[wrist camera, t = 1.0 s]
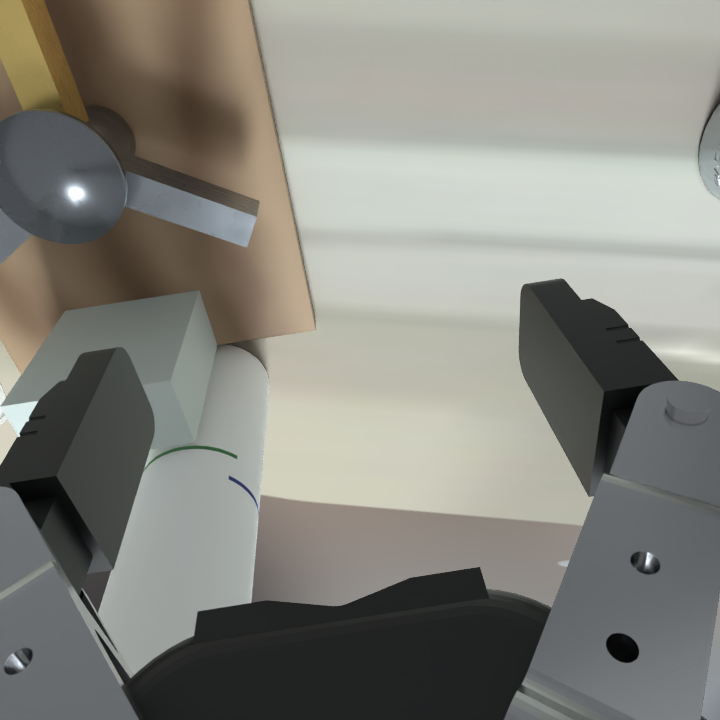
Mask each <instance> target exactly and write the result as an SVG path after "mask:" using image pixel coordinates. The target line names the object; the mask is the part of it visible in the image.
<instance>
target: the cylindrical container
mask: <svg viewBox="0 0 720 720" xmlns="http://www.w3.org/2000/svg"><path fill="white" fill-rule="evenodd" d="M268 396H269V377H268V374H267V371H266V370H265V368H264V366H263V365H262V363H261V362H260V361H259V360H258V359H257V358H256V357H255V356H253V355H252V354H251V353H249V352H247V351H245V350H243V349H241V348H238V347H235V346H232V345H225V344H222V345H217V349H216V353H215V358H214V362H213V366H212V371H211V375H210V380H209V384H208V388H207V393H206V397H205V402H204V406H203V411H202V415H201V419H200V424H199V428H198V433H197V437H196V441H195V443H189V444H182V445H176V446H169V447H163V448H156V449H150V451H149V454H148V457H147V461H146V464H145V467H144V471H143V474H142V477H141V481H140V484H139V487H138V491H137V494H136V497H135V500H134V504H133V507H132V510H131V514H130V517H129V520H128V524H127V527H126V530H125V534H124V537H123V540H122V543H121V547H120V550H119V553H118V557H117V560H116V563H115V567H114V570H112V571H111V574H110V577H109V580H108V584H107V587H106V590H105V593H104V596H103V599H102V602H101V606H100V609H99V612H98V615H99V617H100V618H101V620H102V622H103V623H104V625H105V627H106V629H107V630H108V632H109V634H110V636H111V637H112V639H113V641H114V642H115V644H116V646H117V648H118V649H119V651H120V653H121V654H122V656H123V658H124V660H125V661H126V663H127V665H128V666H129V668H130V670H131V671H132V673H133V674H134V675H135V674H136V673H137V672H138V671H139V670H140V669H141V668H143V667H144V666H145V665H146V664H148V663H149V662H150V661H151V660H153V659H154V658H155V657H157V656H158V655H160V654H161V653H163V652H164V651H166V650H167V649H169V648H170V647H172V646H174V645H176V644H178V643H180V642H182V641H183V640H185V639H187V638H190V637H192V636H194V632H195V626H196V619H197V613H198V611H203V610H209V609H216V608H222V607H229V606H235V605H241V604H248V603H251V598H252V586H253V575H254V564H255V552H256V540H257V528H258V515H259V504H260V492H261V479H262V467H263V454H264V442H265V431H266V419H267V408H268Z"/></svg>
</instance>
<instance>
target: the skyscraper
mask: <svg viewBox="0 0 720 720" xmlns="http://www.w3.org/2000/svg"><path fill="white" fill-rule="evenodd" d="M5 398H6V396H5V393H4V391H3V389H2V386H1V384H0V406H1V404H2V403H3V401H4V400H5ZM6 419H7V417H6V416H5V414H4V412H3V411H2V409H1V408H0V425H1V424H2V423H3V422H4V421H5V420H6Z"/></svg>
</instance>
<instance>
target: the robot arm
mask: <svg viewBox="0 0 720 720" xmlns="http://www.w3.org/2000/svg"><path fill="white" fill-rule="evenodd" d="M699 167H700V175H701V177H702V179H703V182H704V184H705V186H706V187H707V189H708V190H709V191H710V192H711V194H712V195H714V196H715V197H717V198H718V199H720V104H719V105H718V107H717V108H716V109H715V111H714V112H713V114H712V116H711V118H710V120H709V122H708V124H707V126H706V128H705V131H704V134H703V138H702V141H701V144H700V152H699ZM519 359H520V365H521V369H522V373H523V376H524V378H525V380H526V382H527V384H528V386H529V387H530V389H531V391H532V393H533V395H534V397H535V399H536V400H537V402H538V404H539V406H540V408H541V410H542V411H543V413H544V415H545V417H546V419H547V421H548V422H549V424H550V426H551V428H552V430H553V432H554V434H555V435H556V437H557V439H558V441H559V443H560V445H561V446H562V448H563V450H564V452H565V454H566V456H567V457H568V459H569V461H570V463H571V465H572V467H573V468H574V470H575V472H576V474H577V476H578V478H579V480H580V481H581V483H582V485H583V487H584V489H585V491H586V492H587V494H588V496H589V497H591V496H594V498H593V501H592V503H591V506H590V509H589V511H588V514H587V517H586V519H585V522H584V525H583V527H582V530H581V532H580V535H579V538H578V540H577V543H576V546H575V548H574V551H573V553H572V556H571V559H570V561H569V564H568V567H567V569H566V572H565V574H564V577H563V580H562V583H561V585H560V588H559V590H558V593H557V596H556V598H555V601H554V604H553V606H552V608H551V607H549V606H547V605H545V604H542V603H540V602H538V601H536V600H533V599H531V598H527V597H524V596H521V595H518V594H514V593H509V592H505V591H500V590H492V589H486V586H485V583H484V579H483V576H482V573H481V570H480V567H477V568H471V569H464V570H458V571H452V572H445V573H440V574H432V575H426V576H420V577H413V578H409V579H407V580H404V581H402V582H399V583H397V584H395V585H392V586H390V587H387V588H385V589H382V590H380V591H378V592H375V593H373V594H371V595H368V596H365V597H363V598H361V599H358V600H356V601H353V602H351V603H348V604H345V605H342V606H322V605H311V604H301V603H289V602H279V601H260V602H254V603H248V604H241V605H235V606H229V607H222V608H216V609H209V610H203V611H198V613H197V619H196V626H195V632H194V636H192V637H190V638H187V639H185V640H183V641H182V642H180V643H178V644H176V645H174V646H172V647H170V648H169V649H167V650H166V651H164V652H163V653H161V654H160V655H158V656H157V657H155V658H154V659H153V660H151V661H150V662H149V663H148V664H146V665H145V666H144V667H143V668H141V669H140V670H139V671H138V672H137V673H136V674H135V675H134V674H133V673H132V671H131V670H130V668H129V666H128V665H127V663H126V661H125V660H124V658H123V656H122V654H121V653H120V651H119V649H118V648H117V646H116V644H115V642H114V641H113V639H112V637H111V636H110V634H109V632H108V630H107V629H106V627H105V625H104V623H103V622H102V620H101V618H100V617H99V615H98V613H97V611H96V610H95V608H94V606H93V605H92V603H91V601H90V599H89V598H88V596H87V595H86V593H85V592H84V590H83V589H82V587H83V584H84V581H85V578H86V575H87V574H89V573H95V572H102V571H108V570H114V567H115V563H116V560H117V557H118V553H119V550H120V547H121V543H122V540H123V537H124V534H125V530H126V527H127V524H128V520H129V517H130V514H131V510H132V507H133V504H134V500H135V497H136V494H137V491H138V487H139V484H140V481H141V477H142V474H143V471H144V467H145V464H146V461H147V457H148V454H149V451H150V448H151V444H152V441H153V438H154V432H155V421H154V414H153V410H152V407H151V405H150V402H149V400H148V398H147V395H146V393H145V391H144V388H143V386H142V384H141V381H140V379H139V377H138V375H137V372H136V370H135V368H134V365H133V363H132V361H131V358H130V356H129V354H128V353H127V351H126V350H125V349H124V348H122V347H116V348H110V349H104V350H97V351H91V352H84V353H82V354H81V355H80V356H79V357H78V359H77V361H76V363H75V365H74V366H73V368H72V370H71V372H70V374H69V375H68V377H67V379H66V380H64V381H59V382H58V383H57V384H56V385H55V386H54V387H53V388H51V389H50V390H49V391H48V392H47V393H46V394H45V395H44V396H43V397H41V398H40V399H39V401H38V403H37V404H36V406H35V408H34V409H33V411H32V413H31V414H30V416H29V421H28V422H26V423H25V425H24V426H23V428H22V430H21V431H20V433H19V434H20V437H17V438H16V440H15V442H14V443H13V445H12V447H11V448H10V450H9V452H8V454H7V455H6V457H5V459H4V460H3V462H2V464H1V465H0V720H707V719H705V718H704V717H702V716H701V712H702V706H703V699H704V692H705V686H706V680H707V673H708V666H709V660H710V654H711V647H712V640H713V634H714V628H715V621H716V615H717V608H718V602H719V595H720V392H719V391H717V390H714V389H712V388H710V387H707V386H704V385H701V384H697V383H693V382H687V381H679V380H678V379H677V378H676V377H675V376H674V375H673V374H672V372H671V371H670V370H669V369H668V368H667V367H666V366H665V365H664V364H663V363H662V361H661V360H660V359H659V358H658V357H657V356H656V355H655V354H654V353H653V352H652V350H651V349H650V348H649V347H648V346H647V345H646V344H645V343H644V342H643V341H640V337H639V336H638V335H637V334H636V333H635V332H634V331H633V330H632V328H629V327H628V324H627V323H626V322H625V321H624V320H623V319H622V317H621V316H620V315H619V314H618V313H617V312H616V311H615V310H614V309H612V308H610V307H608V306H606V305H604V304H602V303H600V302H598V301H596V300H594V299H586V300H581V299H580V298H579V297H578V295H577V294H576V293H575V292H574V291H573V289H572V288H571V287H570V286H569V285H568V283H567V282H566V281H565V280H564V279H555V280H548V281H542V282H536V283H529V284H524V285H523V287H522V290H521V298H520V327H519Z"/></svg>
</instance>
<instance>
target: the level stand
mask: <svg viewBox="0 0 720 720" xmlns="http://www.w3.org/2000/svg"><path fill="white" fill-rule="evenodd" d="M116 347H122V348H124V349H125V350H126V351H127V353H128V354H129V356H130V358H131V361H132V363H133V365H134V368H135V370H136V372H137V375H138V377H139V379H140V381H141V384H142V386H143V388H144V391H145V393H146V395H147V398H148V400H149V402H150V405H151V407H152V410H153V414H154V421H155V432H154V438H153V441H152V444H151V448H150V449H156V448H163V447H169V446H176V445H182V444H189V443H195V441H196V437H197V433H198V428H199V424H200V419H201V415H202V411H203V406H204V402H205V397H206V393H207V388H208V384H209V380H210V375H211V371H212V366H213V362H214V358H215V353H216V349H217V343H216V340H215V337H214V334H213V331H212V328H211V324H210V321H209V318H208V315H207V312H206V309H205V306H204V303H203V300H202V297H201V294H200V291H199V290H197V291H191V292H184V293H178V294H171V295H165V296H158V297H152V298H145V299H139V300H132V301H126V302H119V303H113V304H106V305H100V306H93V307H87V308H80V309H74V310H67V311H65V312H64V313H63V315H62V316H61V318H60V319H59V320H58V322H57V323H56V325H55V326H54V328H53V329H52V331H51V332H50V334H49V335H48V337H47V338H46V340H45V341H44V343H43V344H42V345H41V347H40V348H39V350H38V351H37V353H36V354H35V356H34V357H33V359H32V360H31V362H30V363H29V365H28V366H27V368H26V369H25V371H24V372H23V373H22V375H21V376H20V378H19V379H18V381H17V382H16V384H15V385H14V387H13V388H12V390H11V391H10V393H9V394H8V396H7V397H6V398H5V400H4V401H3V403H2V404H1V406H0V408H1V409H2V411H3V412H4V414H5V416H6V417H7V419H8V420H9V422H10V423H11V425H12V427H13V428H14V430H15V431H16V433H17V434H18V436H19V437H20V434H19V433H20V431H21V430H22V428H23V426H24V425H25V423H26V422H28V421H29V416H30V414H31V413H32V411H33V409H34V408H35V406H36V404H37V403H38V401H39V399H40V398H41V397H43V396H44V395H45V394H46V393H47V392H48V391H49V390H50V389H51V388H53V387H54V386H55V385H56V384H57V383H58V382H59V381H64V380H66V379H67V377H68V375H69V374H70V372H71V370H72V368H73V366H74V365H75V363H76V361H77V359H78V357H79V356H80V355H81V354H82V353H84V352H91V351H97V350H104V349H110V348H116Z"/></svg>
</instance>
